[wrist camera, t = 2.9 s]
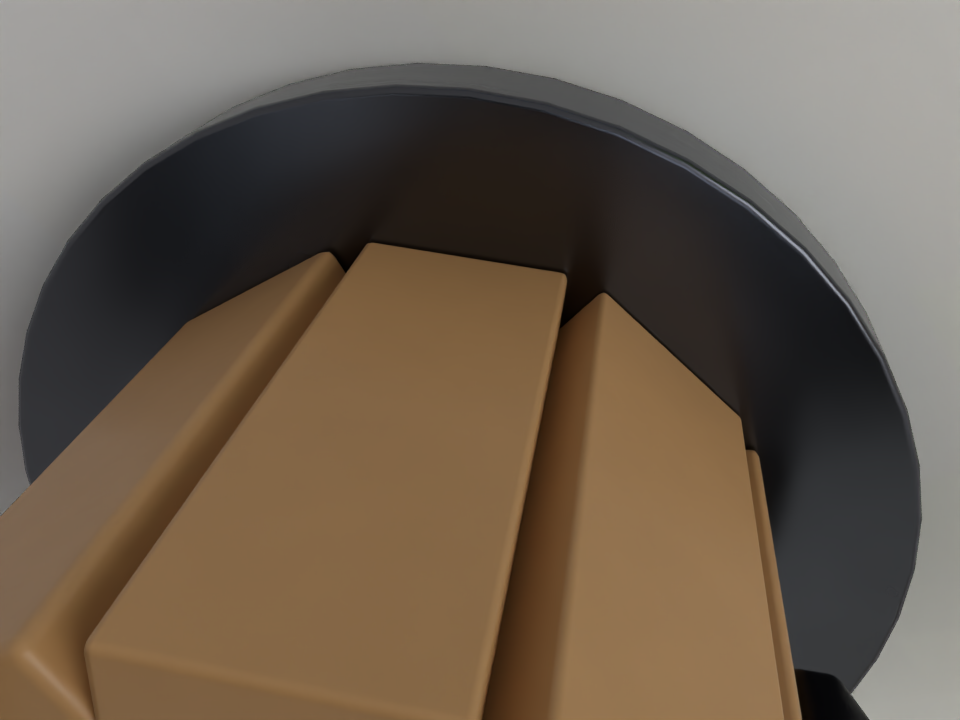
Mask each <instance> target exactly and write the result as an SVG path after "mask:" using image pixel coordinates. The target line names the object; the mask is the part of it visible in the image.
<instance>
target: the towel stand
mask: <svg viewBox="0 0 960 720" xmlns="http://www.w3.org/2000/svg"><path fill="white" fill-rule="evenodd" d="M368 243H378V244H384V245H390V246H397V247H403V248H409V249H415V250H422V251H428V252H434V253H440V254H447V255H453V256H459V257H465V258H471V259H478V260H484V261H490V262H496V263H503V264H509V265H515V266H521V267H528V268H534V269H540V270H546V271H553V272H559V273H563V274H565V275H566V278H567V285H566V291H565V297H564V303H563V310H562V316H561V322H560V328H561V327H563V326H564V325H565V324H566V323H567V322H568V321H569V320H571V319H572V318H573V317H574V316H575V315H576V314H577V313H579V312H580V311H581V310H582V309H583V308H584V307H585V306H587V305H588V304H589V303H590V302H591V301H592V300H593V299H595V298H596V297H597V296H598V295H599V294H601V293H606V294H607V295H609V296H610V297H611V298H612V299H613V300H614V301H615V302H616V303H617V304H618V305H619V306H620V307H622V308H623V309H624V310H625V311H626V312H627V313H628V314H629V315H630V316H631V317H632V318H633V319H634V320H636V321H637V322H638V323H639V324H640V325H641V326H642V327H643V328H644V329H645V330H646V331H647V332H648V333H650V334H651V335H652V336H653V337H654V338H655V339H656V340H657V341H658V342H659V343H660V344H661V345H663V346H664V347H665V348H666V349H667V350H668V351H669V352H670V353H671V354H672V355H673V356H674V357H675V358H677V359H678V360H679V361H680V362H681V363H682V364H683V365H684V366H685V367H686V368H687V369H688V370H689V371H691V372H692V373H693V374H694V375H695V376H696V377H697V378H698V379H699V380H700V381H701V382H702V383H703V384H705V385H706V386H707V387H708V388H709V389H710V390H711V391H712V392H713V393H714V394H715V395H716V396H718V397H719V398H720V399H721V400H722V401H723V402H724V403H725V404H726V405H727V406H728V407H729V408H730V409H732V410H733V411H734V412H735V413H736V414H737V415H738V416H739V417H740V419H741V422H742V429H743V436H744V443H745V450H753V451H755V452H756V453H757V455H758V456H759V460H760V466H761V472H762V478H763V484H764V490H765V496H766V502H767V508H768V515H769V521H770V527H771V533H772V539H773V545H774V551H775V557H776V563H777V569H778V576H779V582H780V588H781V594H782V600H783V606H784V612H785V618H786V624H787V631H788V637H789V643H790V649H791V655H792V661H793V667H794V669H804V670H810V671H816V672H822V673H828V674H832V675H834V676H836V677H837V678H838V679H839V680H840V681H841V682H842V683H843V684H844V686H845V687H846V688H847V690H848V691H849V693H850V694H851V693H852V692H853V691H854V689H855V688H856V687H857V686H858V684H859V683H860V682H861V680H862V679H863V678H864V676H865V675H866V674H867V672H868V671H869V670H870V668H871V667H872V666H873V664H874V663H875V662H876V660H877V659H878V657H879V655H880V653H881V651H882V649H883V647H884V645H885V644H886V642H887V640H888V638H889V636H890V634H891V632H892V630H893V628H894V626H895V625H896V623H897V621H898V619H899V616H900V613H901V610H902V607H903V604H904V601H905V598H906V595H907V592H908V589H909V586H910V583H911V579H912V576H913V573H914V570H915V565H916V558H917V550H918V543H919V536H920V529H921V521H922V509H921V486H920V465H919V460H918V456H917V451H916V447H915V442H914V438H913V433H912V429H911V424H910V420H909V415H908V411H907V408H906V406H905V403H904V401H903V398H902V396H901V393H900V391H899V389H898V386H897V384H896V381H895V379H894V376H893V374H892V371H891V369H890V367H889V364H888V362H887V359H886V357H885V354H884V352H883V350H882V348H881V345H880V343H879V341H878V338H877V336H876V334H875V332H874V329H873V327H872V325H871V322H870V320H869V318H868V316H867V313H866V311H865V310H864V308H863V307H862V305H861V303H860V302H859V300H858V298H857V297H856V295H855V293H854V292H853V290H852V289H851V287H850V285H849V284H848V282H847V280H846V279H845V277H844V276H843V274H842V272H841V271H840V269H839V267H838V266H837V264H836V262H835V261H834V260H833V259H832V257H831V256H830V255H829V254H828V253H827V251H826V250H825V249H824V248H823V247H822V246H821V244H820V243H819V242H818V241H817V240H816V238H815V237H814V236H813V235H812V234H811V233H810V231H809V230H808V229H807V228H806V227H805V225H804V224H803V223H802V222H801V221H800V220H799V218H798V217H797V216H796V215H795V214H794V213H793V212H792V211H791V210H790V209H789V208H788V207H787V206H786V205H784V204H783V203H782V202H781V201H780V200H779V199H778V198H776V197H775V196H774V195H773V194H772V193H771V192H770V191H769V190H767V189H766V188H765V187H764V186H763V185H762V184H761V183H759V182H758V181H757V180H756V179H755V178H754V177H753V176H752V175H750V174H749V173H748V172H747V171H746V170H745V169H743V168H742V167H740V166H739V165H737V164H736V163H734V162H733V161H731V160H730V159H728V158H727V157H725V156H724V155H722V154H721V153H719V152H718V151H716V150H715V149H713V148H712V147H710V146H709V145H707V144H706V143H704V142H703V141H701V140H700V139H698V138H696V137H695V136H693V135H692V134H690V133H689V132H687V131H686V130H683V129H681V128H679V127H677V126H675V125H673V124H671V123H669V122H667V121H665V120H663V119H661V118H658V117H656V116H654V115H652V114H650V113H648V112H646V111H644V110H642V109H640V108H638V107H636V106H633V105H631V104H629V103H627V102H625V101H623V100H620V99H617V98H614V97H611V96H608V95H604V94H601V93H598V92H595V91H592V90H589V89H586V88H583V87H580V86H577V85H574V84H570V83H567V82H564V81H561V80H558V79H555V78H549V77H544V76H538V75H533V74H527V73H522V72H516V71H511V70H505V69H499V68H494V67H488V66H473V65H450V64H428V63H412V64H402V65H391V66H381V67H370V68H359V69H350V70H346V71H342V72H338V73H334V74H330V75H325V76H321V77H317V78H313V79H309V80H305V81H301V82H297V83H292V84H289V85H286V86H284V87H281V88H279V89H276V90H274V91H271V92H269V93H267V94H264V95H262V96H259V97H257V98H254V99H252V100H249V101H247V102H244V103H242V104H240V105H237V106H235V107H233V108H231V109H229V110H228V111H226V112H224V113H223V114H221V115H219V116H218V117H216V118H214V119H213V120H211V121H209V122H208V123H206V124H204V125H203V126H201V127H200V128H198V129H196V130H195V131H193V132H191V133H190V134H188V135H186V136H185V137H183V138H182V139H180V140H178V141H177V142H175V143H174V144H172V145H171V146H169V147H168V148H166V149H164V150H163V151H161V152H160V153H158V154H157V155H155V156H154V157H152V158H150V159H149V160H147V161H146V162H144V163H143V164H142V165H141V166H140V167H138V168H137V169H136V170H135V171H134V172H133V173H131V174H130V175H129V176H128V177H127V178H126V179H125V180H123V181H122V182H121V183H120V184H119V185H118V186H116V187H115V188H114V189H113V190H112V191H111V192H109V193H108V194H107V195H106V196H105V197H104V198H102V199H101V201H100V202H99V203H98V204H97V205H96V207H95V208H94V209H93V210H92V212H91V213H90V214H89V215H88V216H87V218H86V219H85V220H84V221H83V223H82V224H81V225H80V226H79V227H78V229H77V230H76V231H75V232H74V234H73V235H72V236H71V237H70V238H69V240H68V241H67V243H66V245H65V246H64V248H63V250H62V252H61V254H60V255H59V257H58V259H57V261H56V263H55V264H54V266H53V268H52V270H51V271H50V273H49V275H48V277H47V279H46V280H45V282H44V284H43V287H42V289H41V292H40V295H39V298H38V301H37V304H36V307H35V310H34V312H33V315H32V318H31V321H30V324H29V327H28V330H27V333H26V339H25V345H24V351H23V357H22V363H21V369H20V375H19V430H20V437H21V444H22V450H23V457H24V464H25V470H26V474H27V477H28V480H29V484H30V485H31V484H32V483H33V482H34V481H35V480H36V479H37V478H38V477H39V476H40V475H41V474H42V473H43V472H44V471H45V470H46V469H47V467H48V466H49V465H50V464H51V463H52V462H53V461H54V460H55V459H56V458H57V457H58V456H59V455H60V454H61V453H62V452H63V451H64V450H65V449H66V448H67V447H68V446H69V445H70V444H71V442H72V441H73V440H74V439H75V438H76V437H77V436H78V435H79V434H80V433H81V432H82V431H83V430H84V429H85V428H86V427H87V426H88V425H89V424H90V423H91V422H92V421H93V420H94V419H95V418H96V416H97V415H98V414H99V413H100V412H101V411H102V410H103V409H104V408H105V407H106V406H107V405H108V404H109V403H110V402H111V401H112V400H113V399H114V398H115V397H116V396H117V395H118V394H119V393H120V392H121V390H122V389H123V388H124V387H125V386H126V385H127V384H128V383H129V382H130V381H131V380H132V379H133V378H134V377H135V376H136V375H137V374H138V373H139V372H140V371H141V370H142V369H143V368H144V367H145V365H146V364H147V363H148V362H149V361H150V360H151V359H152V358H153V357H154V356H155V355H156V354H157V353H158V352H159V351H160V350H161V349H162V348H163V347H164V346H165V345H166V344H167V343H168V342H169V341H170V339H171V338H172V337H173V336H174V335H175V334H176V333H177V332H178V331H179V330H180V329H181V328H182V327H183V326H184V325H185V324H186V323H187V322H188V321H190V320H192V319H194V318H196V317H198V316H200V315H202V314H204V313H206V312H208V311H210V310H211V309H213V308H215V307H217V306H219V305H221V304H223V303H225V302H227V301H229V300H231V299H232V298H234V297H236V296H238V295H240V294H242V293H244V292H246V291H248V290H250V289H252V288H254V287H255V286H257V285H259V284H261V283H263V282H265V281H267V280H269V279H271V278H273V277H275V276H277V275H278V274H280V273H282V272H284V271H286V270H288V269H290V268H292V267H294V266H296V265H298V264H299V263H301V262H303V261H305V260H307V259H309V258H311V257H313V256H315V255H317V254H319V253H322V252H330V253H332V254H333V255H334V256H335V258H336V259H337V261H338V262H339V264H340V265H341V267H342V268H343V270H344V271H345V273H347V271H348V270H349V268H350V267H351V266H352V264H353V263H354V261H355V260H356V258H357V257H358V256H359V254H360V253H361V251H362V250H363V249H364V247H365V246H366V244H368ZM560 328H559V329H560Z"/></svg>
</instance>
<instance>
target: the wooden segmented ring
mask: <svg viewBox="0 0 960 720" xmlns="http://www.w3.org/2000/svg"><path fill="white" fill-rule="evenodd" d="M566 285H567V278H566V275H565V274H563V273H559V272H553V271H546V270H540V269H534V268H528V267H521V266H515V265H509V264H503V263H496V262H490V261H484V260H478V259H471V258H465V257H459V256H453V255H447V254H440V253H434V252H428V251H422V250H415V249H409V248H403V247H397V246H390V245H384V244H378V243H368V244H366V246H365V247H364V249H363V250H362V251H361V253H360V254H359V256H358V257H357V258H356V260H355V261H354V263H353V264H352V266H351V267H350V268H349V270H348V271H347V273H345V271H344V270H343V268H342V267H341V265H340V264H339V262H338V261H337V259H336V258H335V256H334V255H333V254H332V253H330V252H322V253H319V254H317V255H315V256H313V257H311V258H309V259H307V260H305V261H303V262H301V263H299V264H298V265H296V266H294V267H292V268H290V269H288V270H286V271H284V272H282V273H280V274H278V275H277V276H275V277H273V278H271V279H269V280H267V281H265V282H263V283H261V284H259V285H257V286H255V287H254V288H252V289H250V290H248V291H246V292H244V293H242V294H240V295H238V296H236V297H234V298H232V299H231V300H229V301H227V302H225V303H223V304H221V305H219V306H217V307H215V308H213V309H211V310H210V311H208V312H206V313H204V314H202V315H200V316H198V317H196V318H194V319H192V320H190V321H188V322H187V323H186V324H185V325H184V326H183V327H182V328H181V329H180V330H179V331H178V332H177V333H176V334H175V335H174V336H173V337H172V338H171V339H170V341H169V342H168V343H167V344H166V345H165V346H164V347H163V348H162V349H161V350H160V351H159V352H158V353H157V354H156V355H155V356H154V357H153V358H152V359H151V360H150V361H149V362H148V363H147V364H146V365H145V367H144V368H143V369H142V370H141V371H140V372H139V373H138V374H137V375H136V376H135V377H134V378H133V379H132V380H131V381H130V382H129V383H128V384H127V385H126V386H125V387H124V388H123V389H122V390H121V392H120V393H119V394H118V395H117V396H116V397H115V398H114V399H113V400H112V401H111V402H110V403H109V404H108V405H107V406H106V407H105V408H104V409H103V410H102V411H101V412H100V413H99V414H98V415H97V416H96V418H95V419H94V420H93V421H92V422H91V423H90V424H89V425H88V426H87V427H86V428H85V429H84V430H83V431H82V432H81V433H80V434H79V435H78V436H77V437H76V438H75V439H74V440H73V441H72V442H71V444H70V445H69V446H68V447H67V448H66V449H65V450H64V451H63V452H62V453H61V454H60V455H59V456H58V457H57V458H56V459H55V460H54V461H53V462H52V463H51V464H50V465H49V466H48V467H47V469H46V470H45V471H44V472H43V473H42V474H41V475H40V476H39V477H38V478H37V479H36V480H35V481H34V482H33V483H32V484H31V485H30V486H29V487H28V488H27V489H26V490H25V491H24V492H23V493H22V495H21V496H20V497H19V498H18V499H17V500H16V501H15V502H14V503H13V504H12V505H11V506H10V507H9V508H8V509H7V510H6V511H5V512H4V513H3V514H2V515H1V516H0V720H802V716H801V710H800V704H799V698H798V692H797V685H796V679H795V673H794V667H793V661H792V655H791V649H790V643H789V637H788V631H787V624H786V618H785V612H784V606H783V600H782V594H781V588H780V582H779V576H778V569H777V563H776V557H775V551H774V545H773V539H772V533H771V527H770V521H769V515H768V508H767V502H766V496H765V490H764V484H763V478H762V472H761V466H760V460H759V456H758V455H757V453H756V452H755V451H753V450H745V443H744V436H743V429H742V422H741V419H740V417H739V416H738V415H737V414H736V413H735V412H734V411H733V410H732V409H730V408H729V407H728V406H727V405H726V404H725V403H724V402H723V401H722V400H721V399H720V398H719V397H718V396H716V395H715V394H714V393H713V392H712V391H711V390H710V389H709V388H708V387H707V386H706V385H705V384H703V383H702V382H701V381H700V380H699V379H698V378H697V377H696V376H695V375H694V374H693V373H692V372H691V371H689V370H688V369H687V368H686V367H685V366H684V365H683V364H682V363H681V362H680V361H679V360H678V359H677V358H675V357H674V356H673V355H672V354H671V353H670V352H669V351H668V350H667V349H666V348H665V347H664V346H663V345H661V344H660V343H659V342H658V341H657V340H656V339H655V338H654V337H653V336H652V335H651V334H650V333H648V332H647V331H646V330H645V329H644V328H643V327H642V326H641V325H640V324H639V323H638V322H637V321H636V320H634V319H633V318H632V317H631V316H630V315H629V314H628V313H627V312H626V311H625V310H624V309H623V308H622V307H620V306H619V305H618V304H617V303H616V302H615V301H614V300H613V299H612V298H611V297H610V296H609V295H607V294H606V293H601V294H599V295H598V296H597V297H596V298H595V299H593V300H592V301H591V302H590V303H589V304H588V305H587V306H585V307H584V308H583V309H582V310H581V311H580V312H579V313H577V314H576V315H575V316H574V317H573V318H572V319H571V320H569V321H568V322H567V323H566V324H565V325H564V326H563V327H561V328H560V322H561V316H562V310H563V303H564V297H565V291H566ZM559 328H560V329H559Z"/></svg>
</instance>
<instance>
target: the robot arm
mask: <svg viewBox="0 0 960 720" xmlns="http://www.w3.org/2000/svg"><path fill="white" fill-rule="evenodd" d="M794 673H795V679H796V685H797V692H798V698H799V704H800V710H801V716H802V720H869V719H868V717H867V716H866V714H865V713H864V712H863V710H862V709H861V708H860V706H859V705H858V704H857V702H856V701H855V699H854V698H853V697H852V695H851V694H850V693H849V691H848V690H847V688H846V687H845V686H844V684H843V683H842V682H841V681H840V680H839V679H838V678H837V677H836V676H834V675H832V674H828V673H822V672H816V671H810V670H804V669H794Z"/></svg>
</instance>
